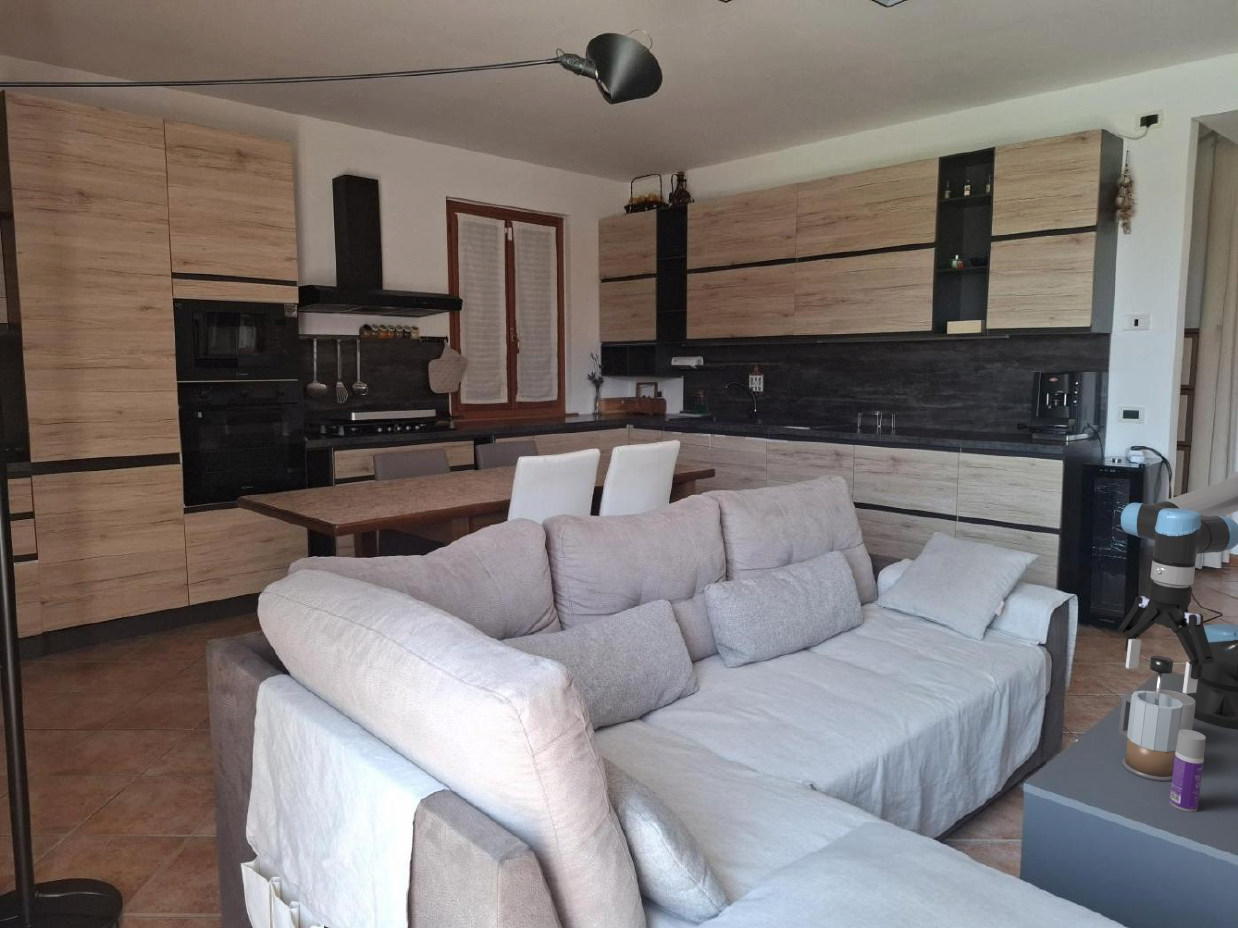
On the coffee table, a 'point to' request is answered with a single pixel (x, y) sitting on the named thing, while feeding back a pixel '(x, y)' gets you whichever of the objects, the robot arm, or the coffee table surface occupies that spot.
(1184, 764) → the container
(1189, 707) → the mug
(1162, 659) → the plunger
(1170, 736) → the carafe
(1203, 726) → the coffee table surface
